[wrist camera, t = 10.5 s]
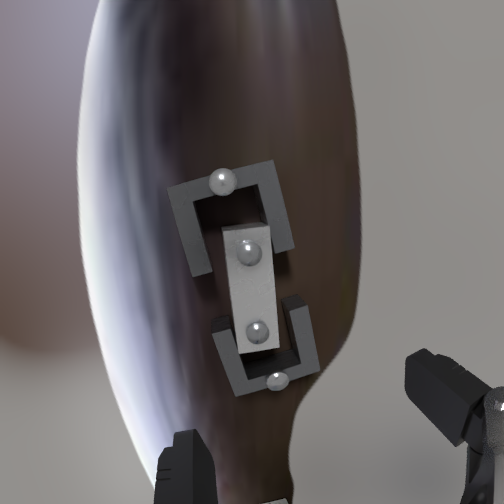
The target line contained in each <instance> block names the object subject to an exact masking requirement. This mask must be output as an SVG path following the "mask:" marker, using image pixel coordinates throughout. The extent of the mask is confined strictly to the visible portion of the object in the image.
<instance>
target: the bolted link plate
mask: <svg viewBox="0 0 504 504" xmlns="http://www.w3.org/2000/svg"><path fill="white" fill-rule="evenodd" d="M221 230H222V238H223V247H224V255H225V264H226V272H227V280H228V288H229V295H230V303H231V311H232V318H233V325H234V333H235V338H236V343H237V348H238V353H239V354H242V353H248V352H255V351H261V350H267V349H273V348H279V334H278V320H277V307H276V295H275V283H274V271H273V259H272V248H271V236H270V226H268V225H266V224H264V223H262V222H256V223H247V224H239V225H230V226H222V227H221Z"/></svg>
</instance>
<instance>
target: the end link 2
mask: <svg viewBox="0 0 504 504" xmlns="http://www.w3.org/2000/svg"><path fill="white" fill-rule="evenodd" d="M281 302H282V306H283V310H284V314H285V318H286V322H287V327H288V331H289V335H290V339H291V343H292V348H293V349H290V350H287V351H284V352H281V353H277V354H274V355H271V356H268V357H264V358H261V359H258V360H254V361H251V362H247V363H244V362H243V359H242V356H241V354H239V353H238V348H237V343H236V338H235V335H234V332H233V328H232V325H231V322H230V319H229V316H228V315H226V316H223V317H219V318H215V319H212V320H211V327H212V336H213V339H214V342H215V344H216V347H217V350H218V353H219V355H220V358H221V361H222V363H223V366H224V369H225V371H226V374H227V376H228V379H229V382H230V384H231V387H232V389H233V392H234V394H235V397H237V396H240V395H244V394H248V393H252V392H255V391H259V390H262V389H265V388H269V389H271V390H273V391H279V390H282V389H284V388H285V387H286V386H287V385H288V383H289V381H291V380H294V379H297V378H300V377H303V376H306V375H309V374H312V373H314V372H317V371H320V367H319V362H318V356H317V351H316V346H315V340H314V335H313V330H312V325H311V320H310V315H309V310H308V306H307V304H306V303H305V302H304V301H303V300H302V299H301V298H300V297H299V295H298V294H296V295H293V296H290V297H287V298H283V299H281Z"/></svg>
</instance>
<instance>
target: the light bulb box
mask: <svg viewBox="0 0 504 504" xmlns="http://www.w3.org/2000/svg"><path fill="white" fill-rule="evenodd" d="M263 504H288V502H287V500H286V499H285V498H284V499H280V500H276V501H272V502H268V503H263Z"/></svg>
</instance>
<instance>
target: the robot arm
mask: <svg viewBox="0 0 504 504" xmlns="http://www.w3.org/2000/svg"><path fill="white" fill-rule="evenodd" d="M405 365H406V366H405V391H406V394H407V395H408V397H409V399H410V400H411V401H412V402H413V403H414V404H415V405H416V406H417V407H418V408H419V409H420V410H421V411H422V413H423V414H424V415H425V416H426V417H427V418H428V419H429V420H430V421H431V422H432V423H433V424H434V425H435V426H436V427H437V428H438V429H439V430H440V431H441V432H442V433H443V435H444V436H445V437H446V438H447V439H448V440H449V441H450V442H451V443H452V444H453V445H454V446H455V447H457V446H458V445H460V444H461V443H462V442H464V441H466V442H467V443H468V446H467V463H466V479H465V489H464V493H463V496H462V498H461V502H460V504H504V387H503V386H501V387H496V388H491V387H489V386H488V385H487V384H485V383H484V382H483V381H481V380H480V379H479V378H477V377H476V376H475V375H473V374H472V373H470V372H469V371H468V370H467V371H466V370H465V368H464V367H462V366H461V365H459V364H458V363H457V362H455V361H454V360H453V359H451V358H450V357H447V356H443V355H440V354H437V355H433V354H432V353H431V352H430V351H428V350H427V349H424V348H423V349H421V350H419V351H417V352H415V353H413V354H411V355H410V356H408V357H407V358H406V362H405ZM157 471H158V472H157V474H156V480H157V481H156V484H155V494H154V504H218V498H217V487H216V475H215V465H214V461H213V458H212V455H211V453H210V452H209V450H208V448H207V447H206V445H205V443H204V442H203V440H202V438H201V437H200V435H199V433H198V431H197V430H196V429H192V430H187V431H181V432H175V434H174V439H173V447H166V448H164V450H163V452H162V453H161V455H160V457H159V458H158V465H157Z"/></svg>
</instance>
